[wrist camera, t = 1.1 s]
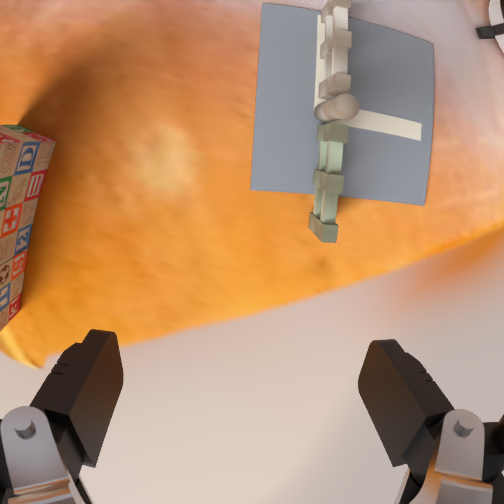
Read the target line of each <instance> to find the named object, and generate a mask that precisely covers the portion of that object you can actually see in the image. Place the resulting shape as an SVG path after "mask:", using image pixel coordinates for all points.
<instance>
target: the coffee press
mask: <svg viewBox="0 0 504 504" xmlns="http://www.w3.org/2000/svg"><path fill="white" fill-rule="evenodd" d="M488 13H489V20H490V24H491V26H486V27H479V28H476V31H477V34H478V36H479V39H489V38H496V40H497V42H498V44H499V46H500V48H501V50H502V51H503V53H504V0H490V3H489V8H488Z"/></svg>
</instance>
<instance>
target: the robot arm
mask: <svg viewBox="0 0 504 504" xmlns="http://www.w3.org/2000/svg"><path fill="white" fill-rule="evenodd" d="M122 386H123V368H122V362H121V357H120V352H119V346H118V340H117V336H116V334H115V332H111V331H103V330H95V329H91V330H90V331H89V333H88V334H87V336H86V337H85V339H84V340H83V342H82V343H75V344H73V345H72V346H70V347H69V348H68V349H66V350H65V351H64V352H63V353H62V355H61V356H60V358H59V359H58V361H57V364H55V365H54V367H53V369H52V370H51V373H49V375H48V376H47V378H46V380H45V381H44V383H43V384H42V386H41V388H40V389H39V391H38V392H37V394H36V396H35V397H34V399H33V401H32V403H31V404H30V406H23V407H18V408H15V409H13V410H11V411H10V412H8V414H6V415H5V417H4V418H3V419H0V504H94V503H93V501H92V499H91V497H90V495H89V493H88V491H87V489H86V487H85V485H84V483H83V481H82V479H81V477H80V475H79V473H80V470H81V467H82V465H86V466H90V467H94V468H95V466H96V463H97V460H98V456H99V453H100V450H101V447H102V444H103V441H104V438H105V435H106V432H107V429H108V426H109V423H110V420H111V418H112V415H113V412H114V409H115V406H116V403H117V401H118V397H119V395H120V392H121V389H122ZM358 389H359V393H360V396H361V398H362V400H363V402H364V404H365V406H366V408H367V410H368V413H369V415H370V417H371V419H372V421H373V424H374V426H375V428H376V430H377V432H378V434H379V437H380V439H381V441H382V443H383V445H384V448H385V450H386V452H387V454H388V456H389V459H390V461H391V463H392V466H393V467H396V466H400V465H403V464H407V465H408V467H409V469H408V470H407V472H406V474H405V476H404V479H403V482H402V485H401V487H400V490H399V493H398V496H397V498H396V501H395V504H504V476H503V474H502V473H501V472H502V471H503V470H504V415H503V416H502V418H501V419H500V421H499V422H486V423H482V421H481V420H480V419H479V418H478V416H476V415H475V414H473V413H472V412H470V411H467V410H463V409H456V410H455V409H454V408H453V406H452V405H451V403H450V402H449V401H448V399H447V398H446V396H445V395H444V394H443V392H442V391H441V390H440V388H439V387H438V385H437V384H436V383H435V381H433V379H432V377H431V376H430V375H429V374H428V373H426V369H425V368H424V367H423V365H422V364H421V363H420V362H419V361H418V360H417V359H415V358H414V357H413V356H412V355H410V354H409V353H405V352H404V350H403V349H402V348H401V346H400V345H399V344H398V342H397V341H396V340H394V339H390V340H374V341H372V342H371V343H370V345H369V348H368V351H367V354H366V357H365V360H364V364H363V366H362V369H361V372H360V375H359V379H358Z"/></svg>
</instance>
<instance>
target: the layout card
mask: <svg viewBox="0 0 504 504" xmlns="http://www.w3.org/2000/svg"><path fill="white" fill-rule="evenodd" d="M348 31H350V32H352V47H351V48H349V49H348V67H347V75H350V76H351V88H350V93H348V94H351V95H353V96H354V97H355V98H356V99H357V100H358V102H359V112H358V114H357V115H356V116H355V117H354V118H352V119H348V120H345V119H341V120H336V121H331V122H326V123H322V122H319V121H318V120H317V119H316V118H315V116H314V109H315V107H316V106H317V105H318V104H320V103H323V102H325V101H328V100H326V99H320V98H318V90H319V83H321V82H322V81H323V77H324V59H320V45H321V44H322V43H323V42H324V41H325V24H324V23H321V11H317V10H311V9H305V8H299V7H292V6H284V5H276V4H266V3H263V4H262V18H261V32H260V47H259V62H258V78H257V93H256V109H255V125H254V140H253V157H252V173H251V189H250V190H256V191H274V192H289V193H304V194H315V190H316V186H314V185H313V175H314V169H318V157H319V144H320V142H318V141H316V138H317V126H319V125H324V124H330V123H338V124H344V125H348V139H347V143H343V155H342V166H341V175H344V183H343V192H342V194H339V195H338V196H340V197H351V198H361V199H370V200H380V201H389V202H397V203H405V204H413V205H421V206H424V204H425V198H426V191H427V183H428V175H429V166H430V156H431V144H432V130H433V108H434V61H433V44H432V43H429V42H427V41H424V40H421V39H419V38H416V37H413V36H411V35H408V34H405V33H402V32H399V31H396V30H393V29H390V28H387V27H383V26H380V25H377V24H373V23H370V22H366V21H362V20H358V19H354V18H350V17H348Z"/></svg>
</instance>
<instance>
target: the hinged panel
mask: <svg viewBox="0 0 504 504" xmlns="http://www.w3.org/2000/svg"><path fill="white" fill-rule="evenodd" d="M347 139H348V125H344V124H338V123H330V124H324V125H319V126H317V138H316V141H318V142H320V144H319V157H318V169H314V175H313V185H314V186H316V190H315V201H314V210H313V212H310V217H309V226H308V227H309V229H310V230H311V231H312V232H313V233H314V234H315V235H316V236H317V237H318V238H319V240H320V241H321V242H329V243H336V240H337V233H338V225H337V224H336V223H335V221H336V213H337V204H338V195H339V194H342V192H343V183H344V175H341V166H342V155H343V143H347Z"/></svg>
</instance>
